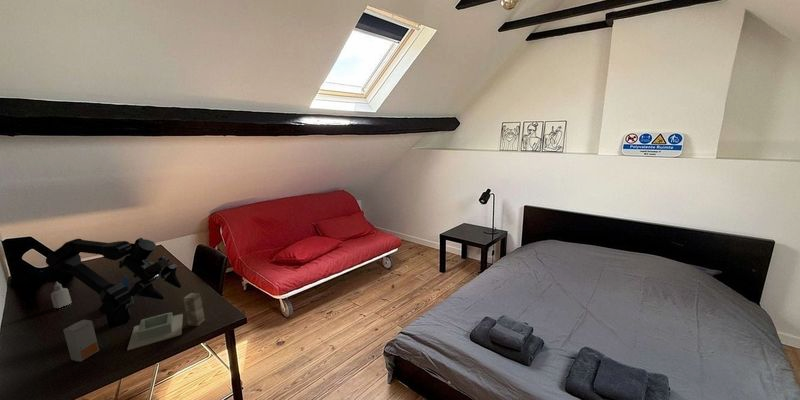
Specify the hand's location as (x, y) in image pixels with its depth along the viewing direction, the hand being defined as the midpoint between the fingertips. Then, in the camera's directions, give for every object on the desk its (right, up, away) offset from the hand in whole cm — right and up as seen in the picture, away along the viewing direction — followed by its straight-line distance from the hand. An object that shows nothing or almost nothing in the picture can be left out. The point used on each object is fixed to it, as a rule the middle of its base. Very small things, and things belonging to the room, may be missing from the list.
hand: (172, 292), depth 128 cm
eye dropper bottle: (-61, -11, +17) cm, 64 cm away
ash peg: (+8, -13, +2) cm, 15 cm away
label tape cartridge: (-34, -10, +20) cm, 41 cm away
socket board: (-4, -14, -3) cm, 15 cm away
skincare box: (-19, -18, -15) cm, 30 cm away
